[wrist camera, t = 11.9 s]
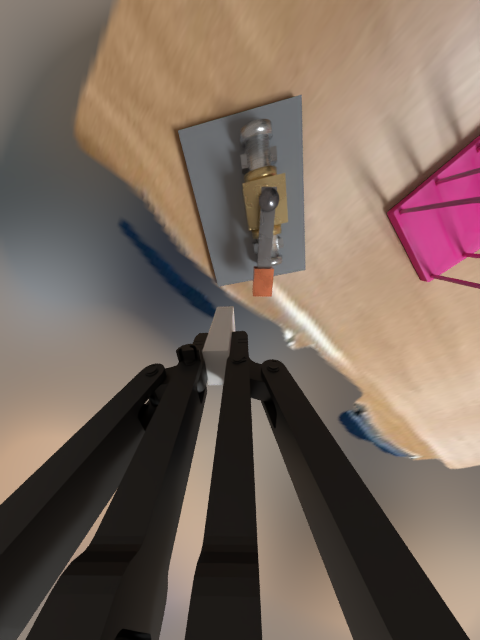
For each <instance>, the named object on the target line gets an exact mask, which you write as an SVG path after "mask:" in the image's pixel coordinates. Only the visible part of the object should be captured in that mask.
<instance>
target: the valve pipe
mask: <svg viewBox="0 0 480 640" xmlns="http://www.w3.org/2000/svg"><path fill="white" fill-rule="evenodd" d="M272 137H273V133H272V122H271V121H270V120H269V119H258V120H254V121H252V122H250V123H248V124H246V125H245V126H244V127H242V129H241V130H240V132H239V138H240V145H241V147H242V148H243V149H245V154H242V155H240V163H241V169H242V174H244V173H247V174H245V175H244V182H245V183H242V192H243V199H244V205H245V212H246V218H247V225H248V231H251V230H252V236H253V239H257V243H253V250H254V253H255V254H256V253H258V236H259V216H260V206H259V197H260V195H261V187H277V192H278V194H279V203H278V206H277V207H276V208H275V219H274V230H273V242H272V254H271V265H270V266H275V265H278V264H281V263H283V258H282V255H280V254H279V249H280V248H284V243H283V238H278V234H280V233H282V231H281V224H282V223H287V222H288V210H287V194H286V177H285V173H282V174H278V175H277V167H276V166H275V164H276V162H277V149H276V146H272V147H270V140H271V139H272Z"/></svg>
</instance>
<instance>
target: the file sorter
mask: <svg viewBox="0 0 480 640" xmlns="http://www.w3.org/2000/svg"><path fill="white" fill-rule="evenodd" d="M387 215H388V217H389V219H390V221H391V223H392V225H393V227H394V229H395V230H396V232H397V234H398V236H399V238H400V240H401V242H402V244H403V246H404V248H405V250H406V252H407V254H408V256H409V258H410V260H411V262H412V264H413V266H414V268H415V270H416V272H417V274H418V276H419V278H420V280H422V281H426V282H430V281H431V280H433V279H434V278H435V279H440V280H444V281H448V282H453V283H457V284H461V285H465V286H470V287H474V288H479V289H480V284H477V283H473V282H468V281H463V280H459V279H454V278H449V277H444V276H439V275H441V274H442V273H444V272H445V271H447V270H448V269H450V268H451V267H453V266H454V265H456V264H457V263H459V262H460V261H462V260H464V259H465V258H467V257H473V258H480V254H473V253H474V252H476V251H477V250H479V249H480V135H479V136H478V137H477V138H476V139H475V140H473V141H472V142H471V143H470V144H469V145H467V146H466V147H465V148H464V149H463V150H461V151H460V152H459V153H458V154H457V155H455V156H454V157H453V158H452V159H451V160H449V161H448V162H447V163H446V164H445V165H443V166H442V167H441V168H440V169H439V170H437V171H436V172H435V173H434V174H433V175H431V176H430V177H429V178H428V179H427V180H425V181H424V182H423V183H422V184H421V185H419V186H418V187H417V188H416V189H415V190H413V191H412V192H411V193H410V194H409V195H407V196H406V197H405V198H404V199H403V200H401V201H400V202H399V203H398V204H397V205H395V206H394V207H393V208H392V209H391V210H389V211H388V213H387Z"/></svg>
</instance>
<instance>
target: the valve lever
mask: <svg viewBox="0 0 480 640" xmlns="http://www.w3.org/2000/svg"><path fill="white" fill-rule="evenodd" d="M278 203H279V194H278V192H277V187H261V195H260V197H259V206H260V216H259V236H258V256H257V266H254V270H253V296H272V285H273V275H274V269H273V267H272V266H270V265H271V254H272V242H273V230H274V219H275V208H276V207H277V206H278Z"/></svg>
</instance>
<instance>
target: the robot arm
mask: <svg viewBox="0 0 480 640" xmlns="http://www.w3.org/2000/svg"><path fill="white" fill-rule="evenodd" d="M176 353H177V357H178V360H179V363H178V365H177V366H174V367H170V368H166V369H165V368H164V366H163V365H162V364H152V365H149V366H147V367H145V368H144V369H143V370H142V371H141V372H139V374H137V375H136V376H135V377H134V378H133V379H132V380H131V381H130V382H129V383H128V384H127V385H126V386H125V387H124V388H123V389H122V390H121V391H120V392H118V393H117V394H116V395H115V396H114V398H112V399H111V400H110V401H109V402H108V403H107V404H106V405H105V406H104V407H103V408H102V409H101V410H100V411H99V412H98V413H96V414H95V416H93V417H92V418H91V419H90V420H89V421H88V422H87V423H86V424H85V425H84V426H83V427H82V428H81V429H80V430H79V431H78V432H77V433H75V434H74V435H73V436H72V437H71V438H70V439H69V440H68V441H67V442H66V443H65V444H64V445H63V446H62V447H61V448H60V449H59V450H58V451H57V452H56V453H54V455H52V456H51V457H50V458H49V459H48V460H47V461H46V462H45V463H44V464H43V465H42V466H41V467H40V468H39V469H38V470H37V471H36V472H34V474H33V475H31V476H30V477H29V478H28V479H27V480H26V481H25V482H24V483H23V484H22V485H21V486H20V487H19V488H18V489H17V490H16V491H15V492H14V493H12V495H10V496H9V497H8V498H7V499H6V500H5V501H4V502H3V503H2V504H1V505H0V640H17V638H18V637H19V635H20V634H21V632H22V631H23V629H24V628H25V626H26V625H27V623H28V622H29V620H30V619H31V617H32V616H33V614H34V612H35V611H36V610H37V608H38V607H39V605H40V604H41V602H42V601H43V599H44V598H45V596H46V595H47V593H48V592H49V590H50V589H51V587H52V586H53V584H54V583H55V581H56V580H57V578H58V576H59V575H60V574H61V572H62V571H63V569H64V568H65V566H66V565H67V563H68V562H69V560H70V558H71V557H72V556H73V554H74V553H75V551H76V550H77V548H78V547H79V545H80V543H81V542H82V540H83V539H84V538H85V536H86V535H87V533H88V532H89V530H90V528H91V527H92V526H93V524H94V522H95V521H96V520H97V518H98V517H99V515H100V514H101V512H102V510H103V509H104V507H105V506H106V505H107V503H108V501H109V500H110V499H111V497H112V496H113V494H114V493H115V491H116V490H117V491H116V493H115V495H114V497H113V499H112V501H111V503H110V505H109V507H108V509H107V511H106V514H105V515H104V517H103V519H102V521H101V524H100V526H99V528H98V530H97V532H96V534H95V536H94V538H93V539H92V541H91V543H90V545H89V546H88V547H87V549H86V550H85V551H84V552H83V553H82V554H80V555H79V556H78V557H77V558H76V559H74V560H73V561H72V562H71V563H70V565H69V566H68V567H67V569H66V570H65V571H64V572H63V574H62V575H61V576H60V578H59V579H58V581H57V583H56V584H55V586H54V588H53V589H52V591H51V593H50V595H49V596H48V599H47V600H46V602H45V604H44V606H43V608H42V610H41V611H40V613H39V615H38V617H37V619H36V621H35V623H34V625H33V627H32V628H31V630H30V632H29V634H28V636H27V638H26V640H159V635H160V631H161V625H162V621H163V616H164V611H165V605H166V599H167V589H168V570H169V564H170V559H171V554H172V550H173V545H174V541H175V536H176V532H177V527H178V523H179V518H180V514H181V509H182V504H183V499H184V495H185V491H186V486H187V481H188V477H189V472H190V468H191V463H192V458H193V454H194V449H195V445H196V440H197V436H198V431H199V427H200V422H201V417H202V413H203V408H204V403H205V399H206V395H207V387H206V383H207V380H208V384H209V385H223V393H222V400H221V408H220V416H219V423H218V431H217V439H216V447H215V455H214V462H213V470H212V478H211V486H210V494H209V501H208V509H207V518H206V524H205V533H204V540H203V546H202V550H201V554H200V557H199V559H198V562H197V566H196V571H195V575H194V580H193V587H192V593H191V599H190V606H189V613H188V620H187V627H186V634H185V640H262V626H261V605H260V585H259V564H258V546H257V527H256V526H257V524H256V503H255V482H254V460H253V439H252V416H251V398H254V399H257V400H261V403H262V405H263V408H264V410H265V413H266V415H267V418H268V420H269V423H270V425H271V428H272V431H273V434H274V436H275V439H276V441H277V443H278V446H279V449H280V452H281V454H282V456H283V459H284V462H285V464H286V467H287V470H288V472H289V475H290V477H291V480H292V482H293V485H294V488H295V490H296V493H297V495H298V498H299V500H300V503H301V506H302V508H303V511H304V513H305V516H306V519H307V521H308V524H309V526H310V529H311V531H312V534H313V537H314V539H315V542H316V544H317V547H318V550H319V552H320V555H321V557H322V560H323V562H324V565H325V568H326V570H327V573H328V575H329V578H330V580H331V583H332V585H333V588H334V590H335V593H336V596H337V598H338V601H339V604H340V606H341V609H342V611H343V614H344V616H345V619H346V622H347V624H348V627H349V629H350V632H351V634H352V637H353V640H470V639H469V638H468V636H467V635H466V633H465V632H464V631H463V629H462V627H461V626H460V624H459V623H458V621H457V620H456V618H455V617H454V615H453V614H452V612H451V611H450V610H449V608H448V607H447V605H446V604H445V602H444V601H443V599H442V598H441V596H440V595H439V593H438V592H437V590H436V589H435V587H434V586H433V584H432V583H431V581H430V580H429V578H428V577H427V575H426V574H425V572H424V571H423V570H422V568H421V567H420V565H419V564H418V562H417V561H416V559H415V558H414V556H413V555H412V553H411V552H410V550H409V549H408V547H407V546H406V545H405V543H404V541H403V540H402V538H401V537H400V536H399V534H398V533H397V531H396V530H395V528H394V527H393V525H392V524H391V522H390V521H389V519H388V518H387V516H386V515H385V513H384V512H383V510H382V509H381V507H380V506H379V504H378V503H377V502H376V500H375V498H374V497H373V496H372V494H371V493H370V491H369V490H368V488H367V487H366V485H365V484H364V482H363V481H362V479H361V478H360V476H359V475H358V473H357V472H356V470H355V469H354V467H353V466H352V465H351V463H350V462H349V460H348V459H347V457H346V456H345V454H344V453H343V451H342V450H341V448H340V447H339V445H338V444H337V442H336V441H335V439H334V438H333V436H332V435H331V433H330V432H329V430H328V429H327V427H326V426H325V424H324V423H323V422H322V420H321V419H320V417H319V416H318V414H317V413H316V411H315V410H314V408H313V407H312V405H311V404H310V402H309V401H308V399H307V398H306V396H305V395H304V393H303V392H302V390H301V389H300V388H299V386H298V385H297V383H296V382H295V380H294V379H293V377H292V376H291V374H290V373H289V371H288V370H287V368H286V367H285V365H284V364H283V363H281V362H280V361H278V360H273V359H272V360H267V361H265V362H263V363H262V364H258V363H255V362H253V361H252V360H251V359H250V358H249V354H248V335H247V333H246V332H245V331H235V321H234V307H217V309H216V312H215V315H214V318H213V321H212V324H211V327H210V330H209V333H199V334H198V335H197V336H196V337H195V339H194V342H193V344H186V345H183V346H181V347H179V348H178V349H177V350H176ZM148 399H149V401H148V402H147V403H146V404H144V403H145V402H146V401H147V400H148ZM117 488H118V489H117Z"/></svg>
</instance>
